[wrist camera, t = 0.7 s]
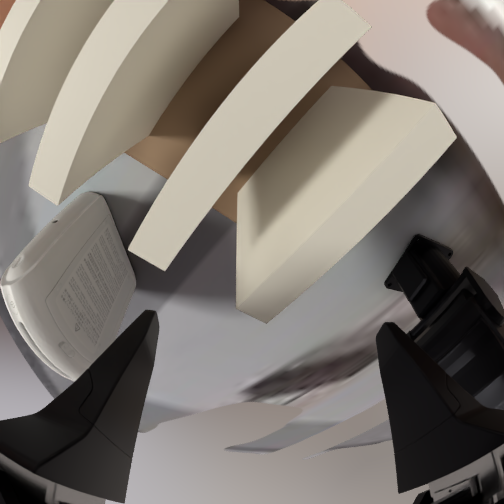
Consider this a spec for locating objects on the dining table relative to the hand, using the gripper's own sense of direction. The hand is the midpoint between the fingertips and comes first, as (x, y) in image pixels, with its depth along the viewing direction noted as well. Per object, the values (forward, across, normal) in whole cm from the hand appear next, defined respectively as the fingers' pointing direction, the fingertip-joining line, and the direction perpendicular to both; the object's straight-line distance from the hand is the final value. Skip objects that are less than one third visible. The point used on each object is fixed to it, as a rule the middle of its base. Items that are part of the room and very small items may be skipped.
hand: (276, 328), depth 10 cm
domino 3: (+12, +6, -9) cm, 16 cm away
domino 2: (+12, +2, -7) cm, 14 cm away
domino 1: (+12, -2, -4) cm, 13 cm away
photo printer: (+12, +13, +5) cm, 19 cm away
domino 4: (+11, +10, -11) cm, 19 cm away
